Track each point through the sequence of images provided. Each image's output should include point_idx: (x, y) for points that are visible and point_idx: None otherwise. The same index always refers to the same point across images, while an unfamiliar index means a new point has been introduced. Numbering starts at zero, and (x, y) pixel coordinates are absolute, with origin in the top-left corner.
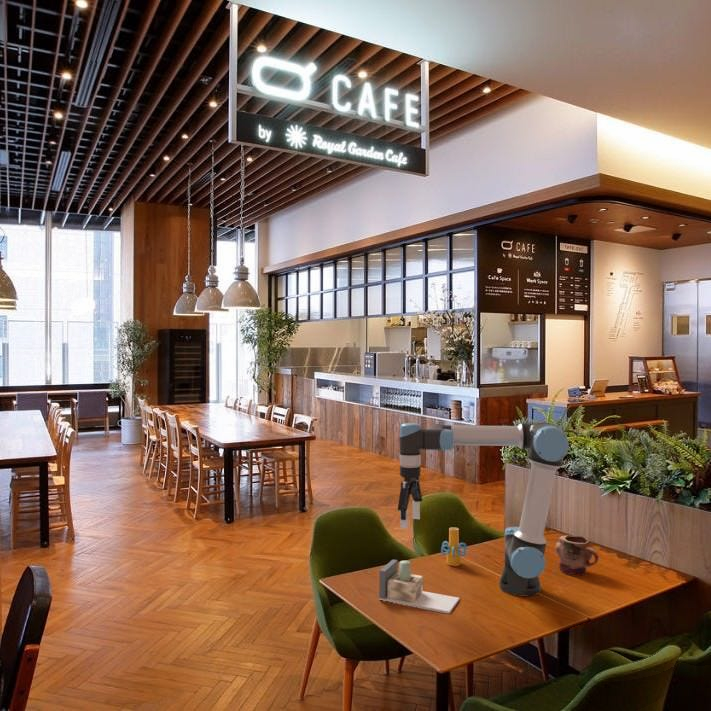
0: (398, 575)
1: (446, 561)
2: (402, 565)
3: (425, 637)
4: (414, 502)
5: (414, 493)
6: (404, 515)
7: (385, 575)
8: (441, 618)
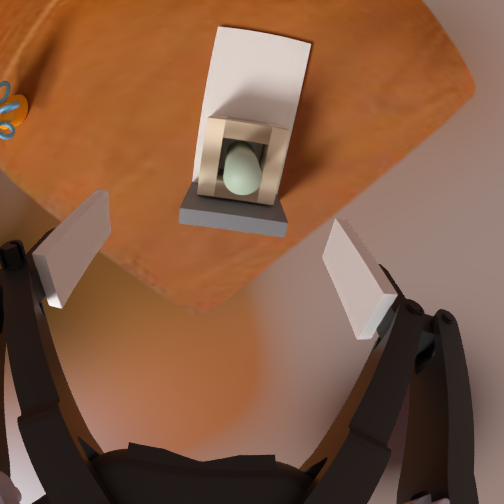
0: (225, 185)
1: (18, 124)
2: (260, 180)
3: (417, 100)
4: (60, 289)
5: (54, 365)
6: (396, 286)
7: (280, 216)
8: (337, 62)
